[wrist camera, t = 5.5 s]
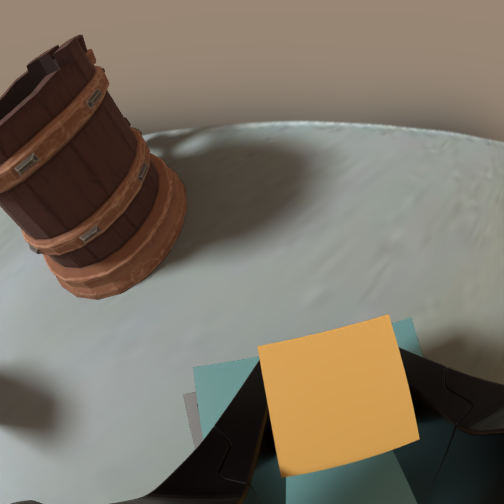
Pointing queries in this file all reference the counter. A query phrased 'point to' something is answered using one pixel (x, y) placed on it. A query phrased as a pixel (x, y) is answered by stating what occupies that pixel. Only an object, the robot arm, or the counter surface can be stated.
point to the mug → (84, 177)
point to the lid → (330, 410)
